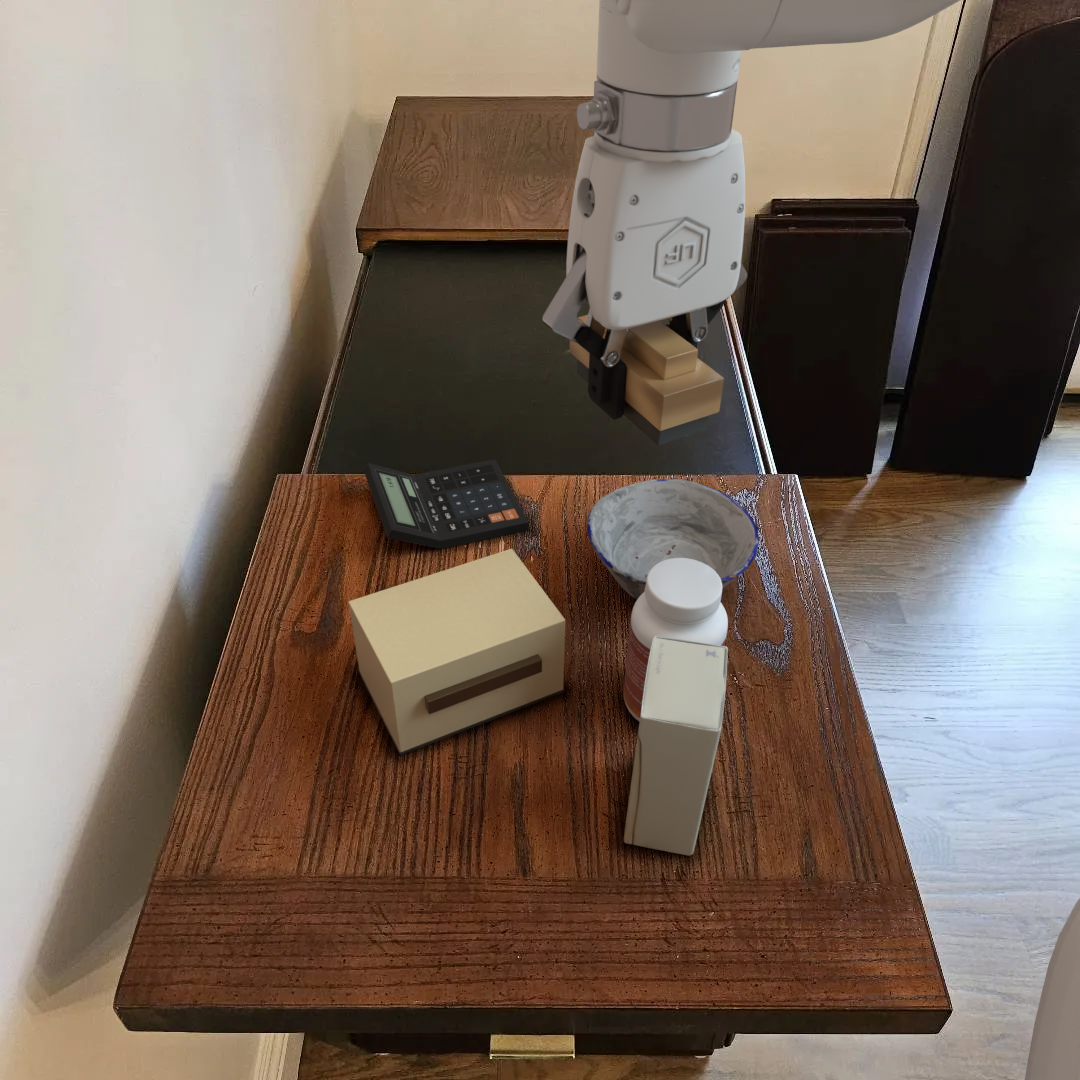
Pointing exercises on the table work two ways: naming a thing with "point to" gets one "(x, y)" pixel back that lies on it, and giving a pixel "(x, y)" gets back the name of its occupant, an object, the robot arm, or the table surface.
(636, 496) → the bowl
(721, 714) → the cosmetic box
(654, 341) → the brush
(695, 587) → the pill bottle
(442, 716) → the bread box
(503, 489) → the calculator
